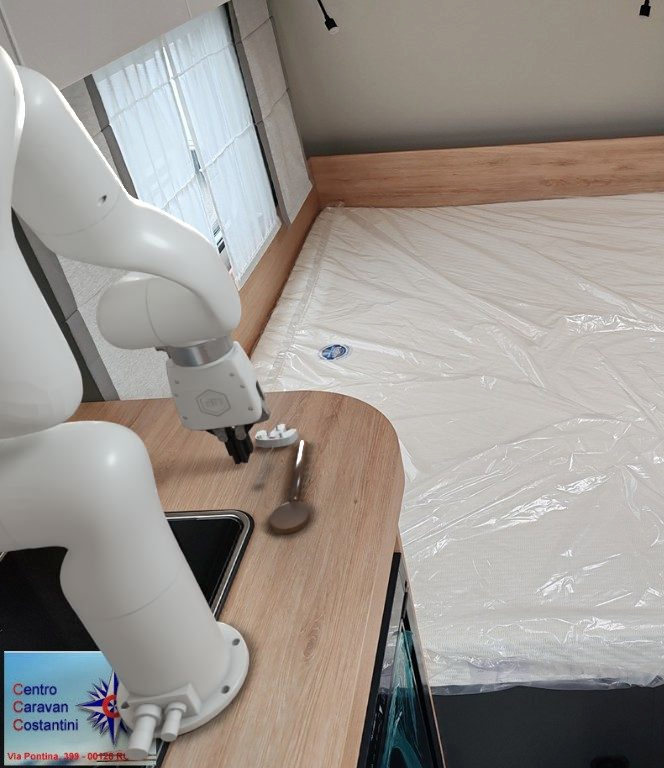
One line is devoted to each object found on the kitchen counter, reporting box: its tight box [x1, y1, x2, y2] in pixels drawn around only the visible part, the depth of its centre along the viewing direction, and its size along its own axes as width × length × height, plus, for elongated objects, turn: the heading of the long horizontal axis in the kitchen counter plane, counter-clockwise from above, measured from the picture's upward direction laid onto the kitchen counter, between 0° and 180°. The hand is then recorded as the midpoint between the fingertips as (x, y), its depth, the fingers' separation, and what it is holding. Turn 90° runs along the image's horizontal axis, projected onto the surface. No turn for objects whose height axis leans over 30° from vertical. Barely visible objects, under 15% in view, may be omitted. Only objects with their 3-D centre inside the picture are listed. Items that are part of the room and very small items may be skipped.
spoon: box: [270, 439, 312, 535], centre depth 98 cm, size 17×5×1 cm, turn 7°
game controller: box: [254, 423, 299, 488], centre depth 104 cm, size 6×12×3 cm, turn 16°
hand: (243, 457), depth 103 cm, fingers closed
